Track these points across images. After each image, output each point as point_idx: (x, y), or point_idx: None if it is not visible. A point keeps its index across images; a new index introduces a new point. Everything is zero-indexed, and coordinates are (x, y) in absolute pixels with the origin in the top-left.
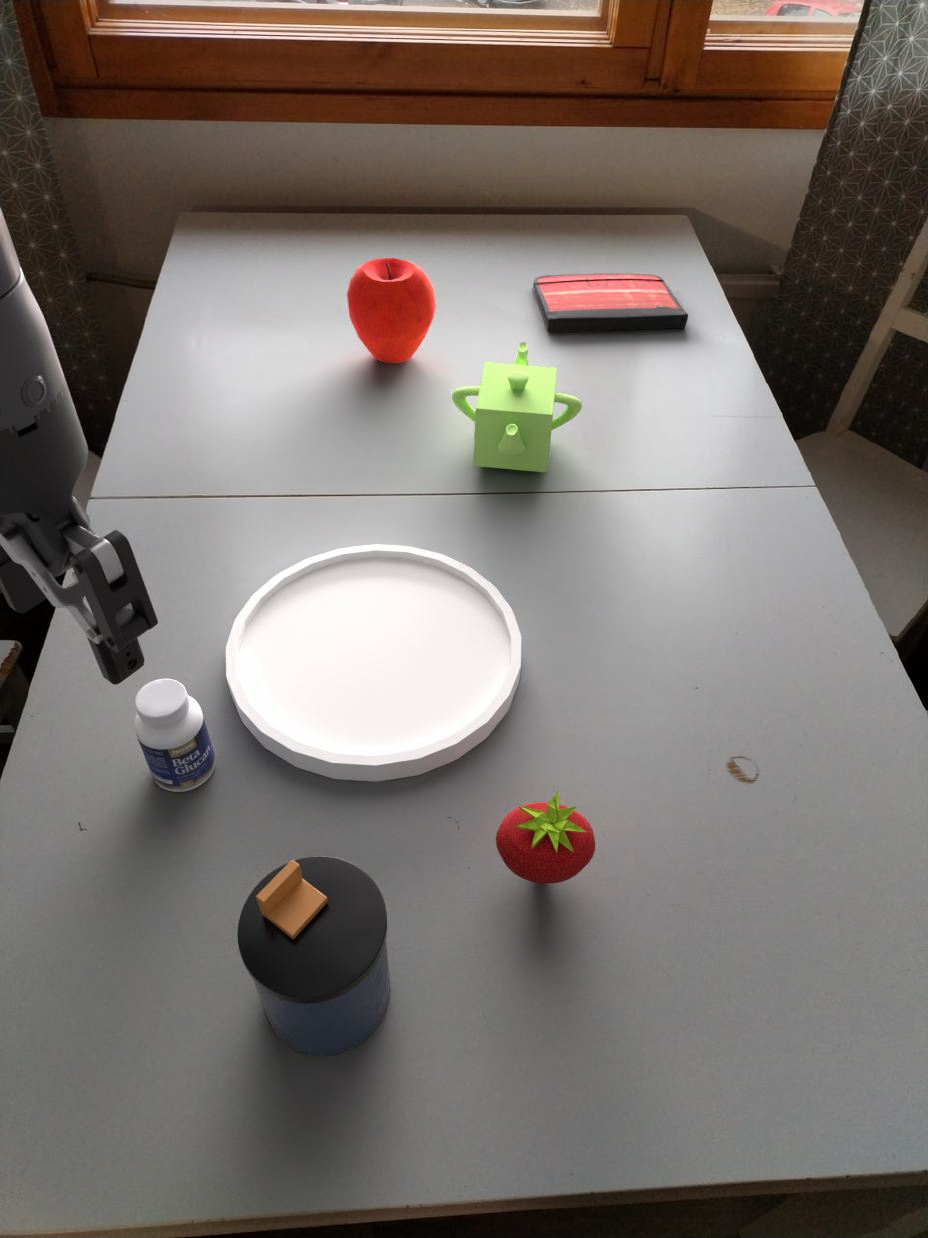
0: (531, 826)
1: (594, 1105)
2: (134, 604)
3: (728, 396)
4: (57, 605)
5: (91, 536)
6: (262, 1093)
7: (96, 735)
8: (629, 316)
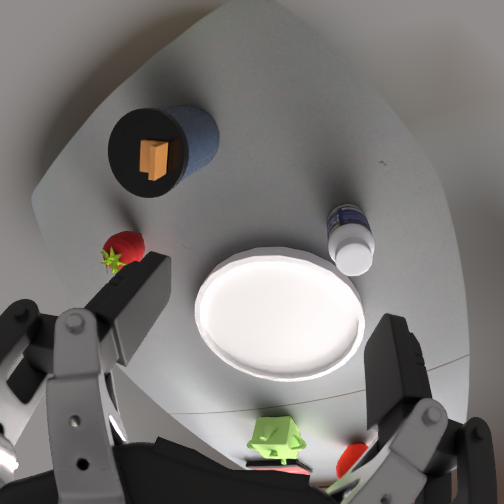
0: (116, 256)
1: (82, 159)
2: (32, 379)
3: (215, 442)
4: (73, 380)
5: None
6: (186, 82)
7: (411, 223)
8: (266, 466)
